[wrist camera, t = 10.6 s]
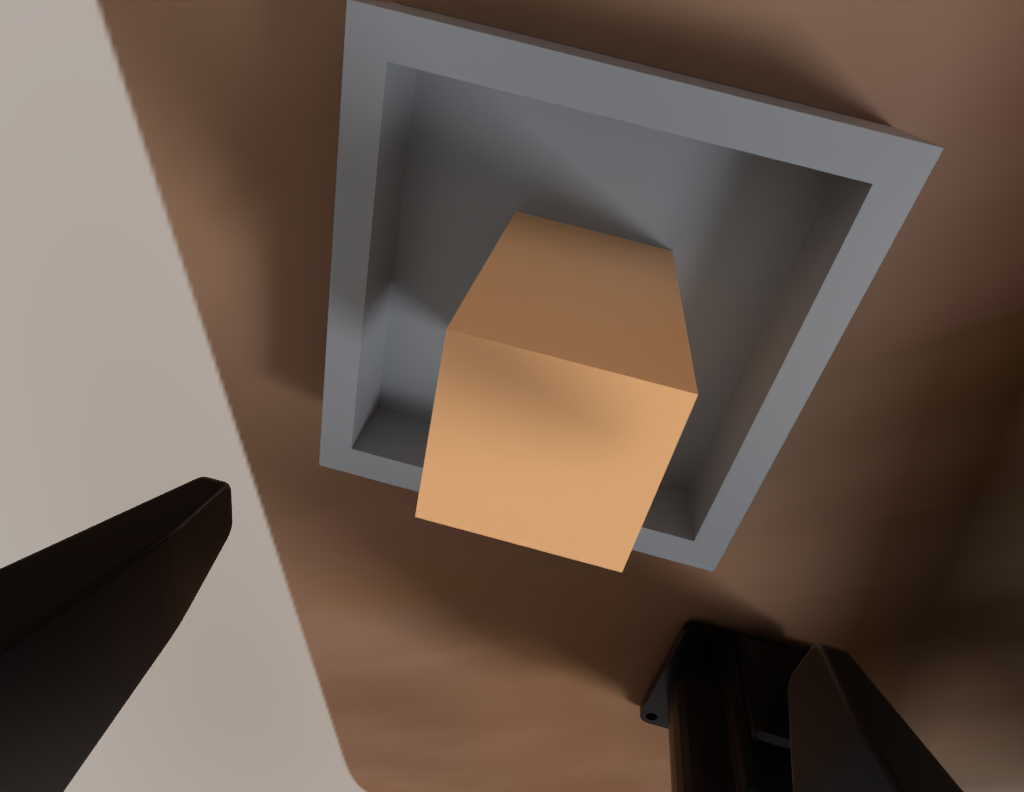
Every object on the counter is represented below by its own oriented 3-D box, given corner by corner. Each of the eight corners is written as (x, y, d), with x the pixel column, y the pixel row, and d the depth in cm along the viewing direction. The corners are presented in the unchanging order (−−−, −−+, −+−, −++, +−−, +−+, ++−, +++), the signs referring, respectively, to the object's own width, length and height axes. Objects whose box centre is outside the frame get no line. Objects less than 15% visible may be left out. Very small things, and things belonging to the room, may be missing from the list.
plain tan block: (624, 385, 20) (621, 572, 13) (487, 350, 20) (414, 516, 14) (672, 250, 18) (698, 394, 11) (515, 210, 18) (446, 328, 11)
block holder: (704, 509, 23) (713, 572, 20) (353, 415, 23) (319, 465, 21) (893, 127, 16) (943, 148, 13) (391, 1, 16) (346, -1, 14)
